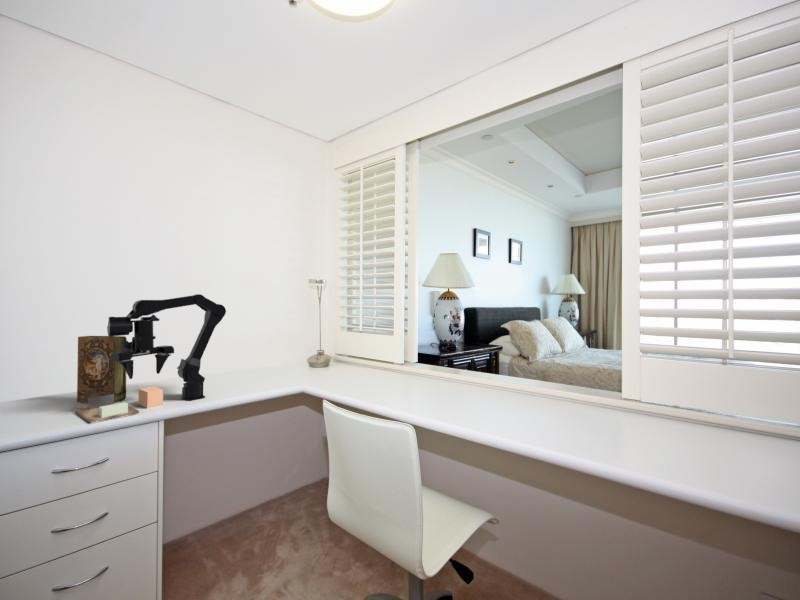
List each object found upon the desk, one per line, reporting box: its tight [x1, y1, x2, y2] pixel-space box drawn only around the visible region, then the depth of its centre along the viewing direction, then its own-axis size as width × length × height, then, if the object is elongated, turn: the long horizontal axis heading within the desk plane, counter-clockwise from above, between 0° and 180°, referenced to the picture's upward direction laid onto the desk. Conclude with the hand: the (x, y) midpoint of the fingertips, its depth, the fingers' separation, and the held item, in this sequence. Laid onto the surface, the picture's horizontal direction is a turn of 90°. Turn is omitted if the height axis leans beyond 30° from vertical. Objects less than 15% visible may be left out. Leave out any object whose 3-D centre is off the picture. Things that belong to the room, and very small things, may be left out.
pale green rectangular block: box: [99, 401, 129, 418], centre depth 119 cm, size 7×3×3 cm, turn 143°
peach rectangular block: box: [138, 386, 164, 409], centre depth 134 cm, size 5×9×6 cm, turn 53°
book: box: [76, 335, 128, 404], centre depth 138 cm, size 16×6×25 cm, turn 84°
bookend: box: [86, 394, 115, 409], centre depth 128 cm, size 7×2×4 cm, turn 143°
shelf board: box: [75, 401, 140, 424], centre depth 124 cm, size 13×18×1 cm
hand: (144, 376), depth 132 cm, fingers open, 9 cm apart
